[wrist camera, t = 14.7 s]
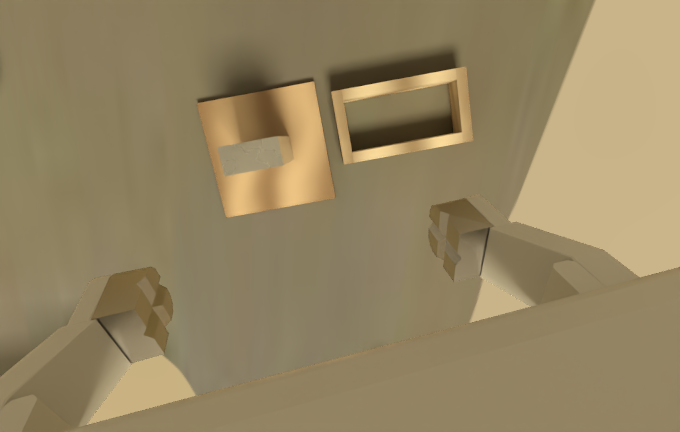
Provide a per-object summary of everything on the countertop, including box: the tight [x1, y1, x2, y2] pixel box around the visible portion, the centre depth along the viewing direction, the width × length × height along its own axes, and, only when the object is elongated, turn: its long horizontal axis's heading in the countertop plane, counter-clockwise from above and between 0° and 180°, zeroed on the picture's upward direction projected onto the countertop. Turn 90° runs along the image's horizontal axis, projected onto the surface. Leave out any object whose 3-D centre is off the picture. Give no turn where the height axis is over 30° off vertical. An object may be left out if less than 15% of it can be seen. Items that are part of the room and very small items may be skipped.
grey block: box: [217, 136, 294, 176], centre depth 33 cm, size 5×2×8 cm, turn 100°
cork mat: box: [197, 81, 335, 218], centre depth 37 cm, size 12×12×1 cm
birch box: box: [331, 67, 473, 164], centre depth 35 cm, size 13×7×2 cm, turn 100°
